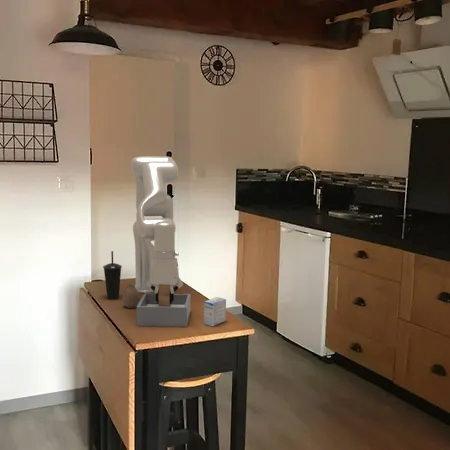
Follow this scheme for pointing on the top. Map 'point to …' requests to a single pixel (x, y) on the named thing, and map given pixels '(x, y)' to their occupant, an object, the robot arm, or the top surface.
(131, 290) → the vase
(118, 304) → the top surface
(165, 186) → the robot arm
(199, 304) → the top surface
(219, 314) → the medicine box
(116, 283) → the drinking cup
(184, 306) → the open box
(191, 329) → the top surface
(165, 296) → the peg
